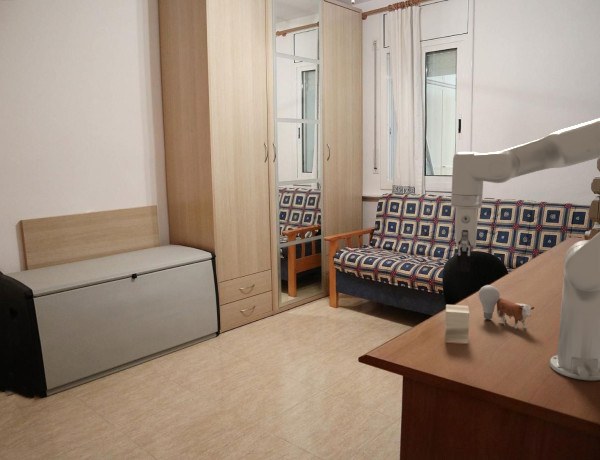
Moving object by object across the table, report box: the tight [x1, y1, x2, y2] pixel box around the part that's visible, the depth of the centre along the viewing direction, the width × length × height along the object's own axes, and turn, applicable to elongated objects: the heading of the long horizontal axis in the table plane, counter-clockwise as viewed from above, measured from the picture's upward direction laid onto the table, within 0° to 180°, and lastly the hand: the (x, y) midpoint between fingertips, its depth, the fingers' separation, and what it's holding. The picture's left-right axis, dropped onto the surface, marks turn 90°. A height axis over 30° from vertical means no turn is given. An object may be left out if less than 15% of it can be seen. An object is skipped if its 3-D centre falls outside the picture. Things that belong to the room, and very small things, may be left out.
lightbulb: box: [478, 284, 501, 321], centre depth 156 cm, size 6×6×11 cm
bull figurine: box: [496, 297, 535, 330], centre depth 151 cm, size 4×13×8 cm, turn 21°
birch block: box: [444, 304, 470, 345], centre depth 142 cm, size 6×6×9 cm
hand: (463, 266), depth 132 cm, fingers open, 9 cm apart
